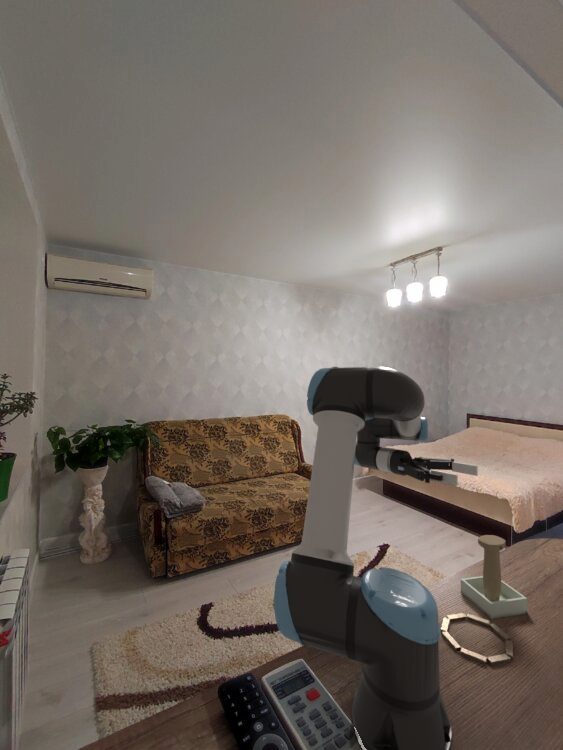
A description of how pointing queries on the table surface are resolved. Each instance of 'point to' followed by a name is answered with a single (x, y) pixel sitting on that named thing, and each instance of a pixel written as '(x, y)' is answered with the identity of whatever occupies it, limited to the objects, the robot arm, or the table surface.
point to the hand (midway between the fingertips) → (467, 475)
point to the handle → (492, 565)
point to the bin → (506, 606)
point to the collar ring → (469, 654)
